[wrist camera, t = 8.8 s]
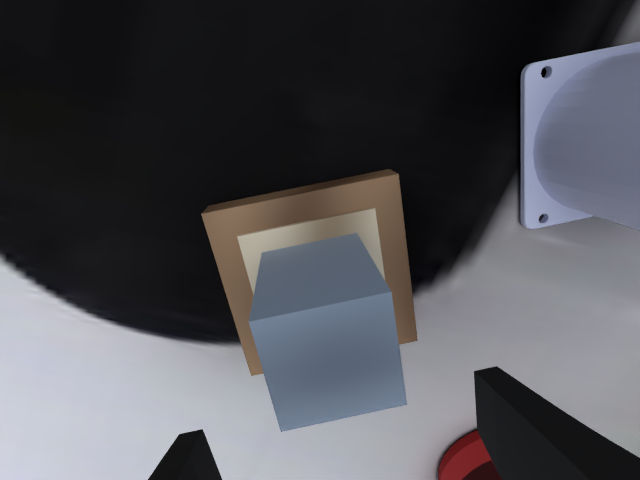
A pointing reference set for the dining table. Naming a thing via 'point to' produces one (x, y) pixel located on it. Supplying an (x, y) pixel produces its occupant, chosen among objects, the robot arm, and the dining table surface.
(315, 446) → the dining table surface
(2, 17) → the dining table surface
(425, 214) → the dining table surface
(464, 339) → the dining table surface
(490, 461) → the canned food
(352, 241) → the block
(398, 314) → the plinth
